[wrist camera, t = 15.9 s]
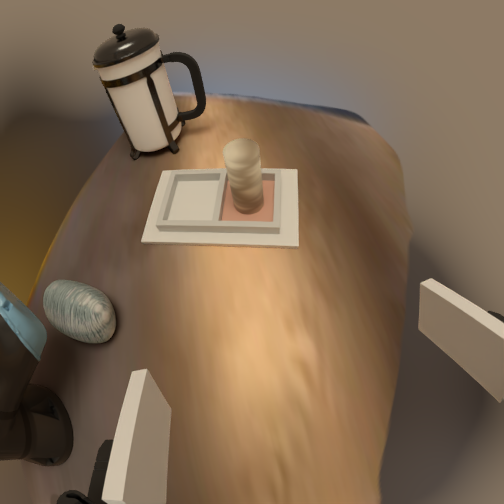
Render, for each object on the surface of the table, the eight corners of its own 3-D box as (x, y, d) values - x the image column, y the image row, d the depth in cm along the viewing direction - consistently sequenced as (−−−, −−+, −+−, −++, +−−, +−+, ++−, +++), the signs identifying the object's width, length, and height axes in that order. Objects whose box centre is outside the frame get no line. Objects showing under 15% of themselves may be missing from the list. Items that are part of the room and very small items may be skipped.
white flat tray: (142, 243, 48) (136, 235, 45) (163, 173, 55) (159, 163, 53) (298, 248, 45) (299, 239, 43) (297, 172, 53) (297, 161, 50)
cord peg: (232, 214, 48) (220, 162, 37) (236, 190, 50) (225, 138, 40) (262, 215, 47) (257, 162, 37) (264, 191, 50) (260, 138, 39)
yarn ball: (39, 327, 38) (24, 290, 32) (69, 291, 46) (61, 253, 39) (100, 369, 38) (92, 338, 32) (128, 327, 46) (127, 291, 39)
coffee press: (148, 177, 55) (90, 49, 28) (119, 145, 61) (71, 41, 34) (215, 133, 59) (189, 6, 33) (178, 109, 66) (149, 4, 39)
